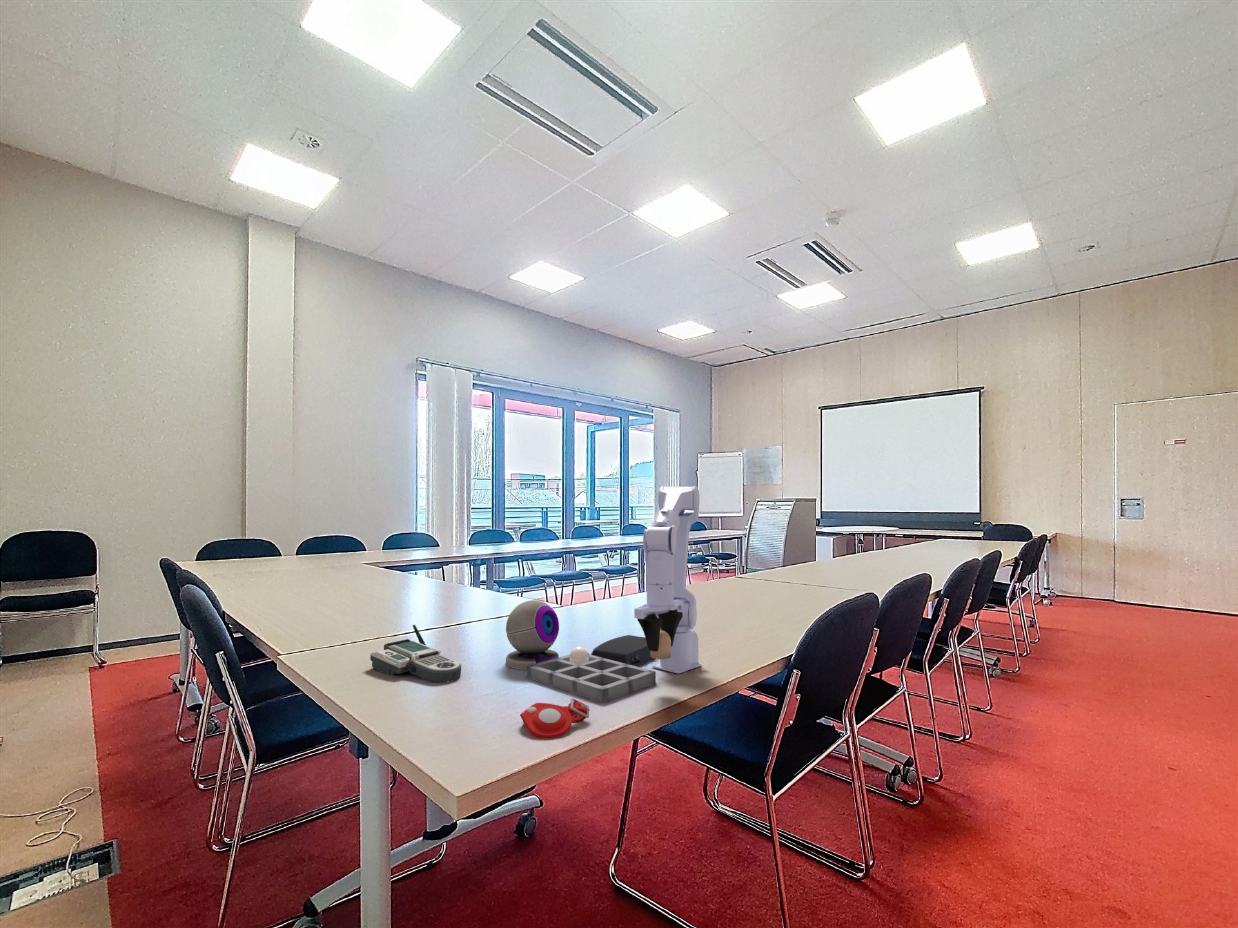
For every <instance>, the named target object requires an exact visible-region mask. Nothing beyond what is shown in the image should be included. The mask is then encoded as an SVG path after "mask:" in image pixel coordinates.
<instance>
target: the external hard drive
mask: <svg viewBox="0 0 1238 928" xmlns="http://www.w3.org/2000/svg"><path fill="white" fill-rule="evenodd" d="M590 655H594V656H598V657H601V658H605V659H609V660H613V661H617V662H621V663H625V664H629V665H632V666H636V667H641V666H642V665H645V664H647V663H649V662H651V661H653V660H655V659H654V658H651V657H650V650H648V646H647V642H646V638H645V636H637V635H632V634H631V635H630V634H627V635H622V636H617V637H615V638H612V639H609V640H606V641H604V642H602V643H600V644H598V645H597V646H596V647H594V648H593V649H592V651H591V653H590Z"/></svg>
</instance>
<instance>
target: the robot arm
mask: <svg viewBox="0 0 1238 928" xmlns="http://www.w3.org/2000/svg"><path fill="white" fill-rule="evenodd" d="M657 493H658V494H657V504H658V507H659V510H658V512H657V513H656V514H655V516H654V518H653V521H652V524H651V525H650V526H648V528H645V529H644V531H643V535H642V544H643V545H642V546H643V552H644V553H643V554H644V562H646V603H644V604H643V605H640V606H638V607H634V612H633V613H634V618H635V619H636V620H637V622H638V624H639V625H640V628H641V629H642V631H643V634H644V637H645V638H646V642H647V646H648V650H650V651H655V652H656V651H658V648H659V635H660V630H663V631H665V632H667V633H668V634H669V636H670V638H671V657H670V658H668V659H659V662H657V663H655V664H653V665H652V668H654V669H658V670H661V671H662V670H663V671H666V672H670V673H673V674H674V673H675V674H683V673H684V672H688V671H689V670H693V669H695V668H698V667H701V666H702V665H703V663H701V662H700V661H699V637H698V636H699V635H698V634H697V632H696V630H695V629H694V628H695V627H696V625H697V619H698V618H697V616H698V615H697V599H696V597H695V595H694V594H693V593H692V592H691V591H689V590H688V589H687V588H686V587H687V585H686V584H687V571H688V570H687V568H688V554H689V553H688V552H689V538H690V531H691V527H692V525H693V524H695V523H696V522H698V520H699V519H698V518H699V515H700V490H699V487H697V486H696V485H693V486H664V485H662V486H660V488H659V490H658V492H657Z"/></svg>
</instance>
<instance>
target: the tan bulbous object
mask: <svg viewBox="0 0 1238 928" xmlns="http://www.w3.org/2000/svg"><path fill="white" fill-rule="evenodd" d="M650 657H651V658H654V659H653V660H655V659H656V660H660V659H668V658H670V657H671V638H670V636H669V634H668V633H667V632H665V631H663V630H660V635H659V648H658V651H656V652H655V651H650Z"/></svg>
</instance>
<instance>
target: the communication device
mask: <svg viewBox="0 0 1238 928" xmlns="http://www.w3.org/2000/svg"><path fill="white" fill-rule="evenodd" d="M412 629H413V630H414V632H415V635H416V637H417V640H418V641H415V640H410V638H407V639H402V640H397V641H396V640H395V641H392V642H388V643H385V644H384V645H383V650H378V651H373V652H371V653H370V659H369V660H370V661H371V667H372V668H373V669H374V670H376V671H378V672H380V673H383V674H385V675H389V676H394V675H400V674H401V675H402V674H405V673H407V672H409V673H410V674H411V675H414V676H416V677H417V678H421V679H423V680H424V681H427V682H429V681H430V682H429V683H435V684H436V683H437V684H438V683H439V684H440V683H441V682H442V683H448V682H447V681H449V682H452V680H453V681H456V680H458V679H459V678H460V676H462V674H461V673H462V664H461V663H459V662H458V661H457V660H453V659H451V658H449V657H446V656H443V655H441V653H442V650H439V649H436V648H434V647H430V646H428V645H427V644H426V642H425V641H424V638H423V636H422V635H421V633H420V631H419V629H418V627H417V626H416V624H413V625H412ZM455 679H456V680H455Z"/></svg>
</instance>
